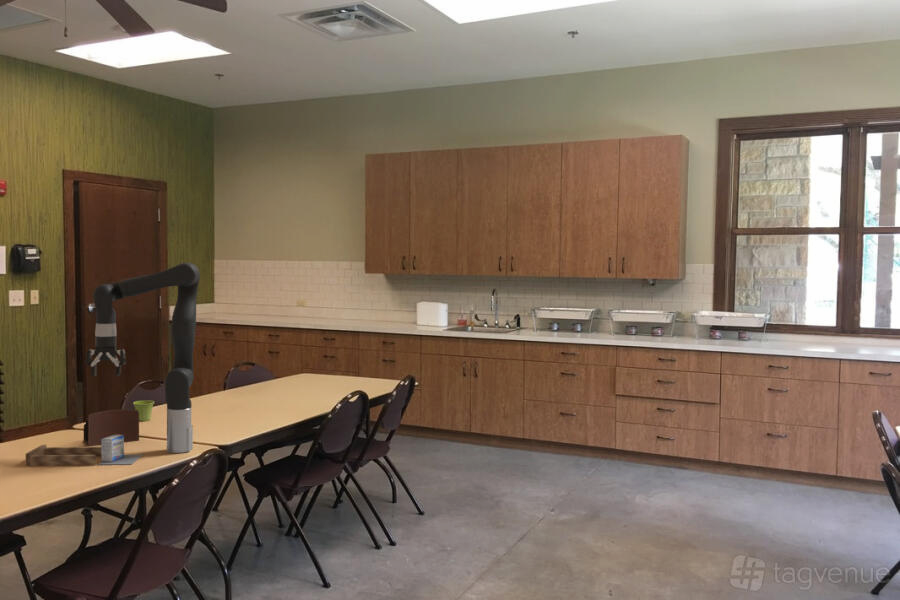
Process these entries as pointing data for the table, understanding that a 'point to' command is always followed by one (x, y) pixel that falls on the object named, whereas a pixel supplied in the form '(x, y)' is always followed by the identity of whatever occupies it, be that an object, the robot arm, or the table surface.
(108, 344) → the robot arm
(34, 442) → the table surface
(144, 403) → the plant pot
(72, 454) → the frame
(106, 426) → the letter holder
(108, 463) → the slate mat
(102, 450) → the medicine box
